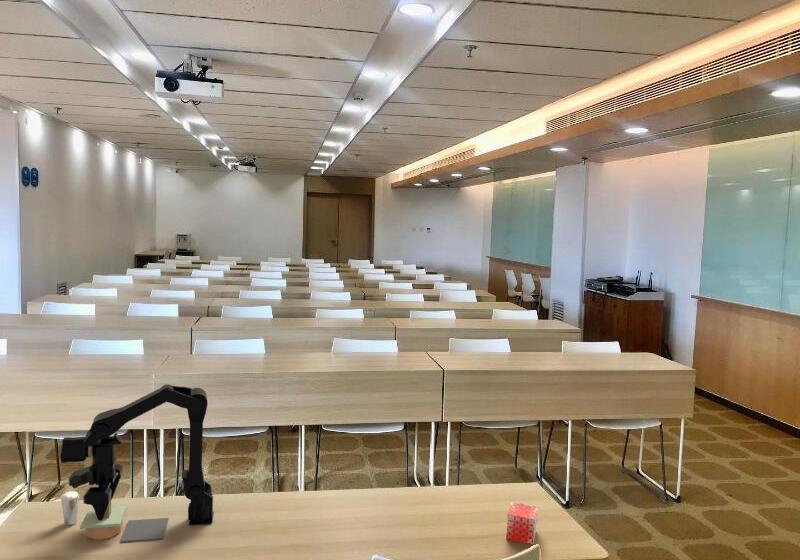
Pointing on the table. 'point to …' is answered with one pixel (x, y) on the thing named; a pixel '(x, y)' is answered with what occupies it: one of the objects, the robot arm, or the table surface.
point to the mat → (145, 530)
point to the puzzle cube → (522, 523)
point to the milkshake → (70, 507)
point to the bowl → (103, 532)
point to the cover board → (106, 521)
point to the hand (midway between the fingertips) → (104, 511)
